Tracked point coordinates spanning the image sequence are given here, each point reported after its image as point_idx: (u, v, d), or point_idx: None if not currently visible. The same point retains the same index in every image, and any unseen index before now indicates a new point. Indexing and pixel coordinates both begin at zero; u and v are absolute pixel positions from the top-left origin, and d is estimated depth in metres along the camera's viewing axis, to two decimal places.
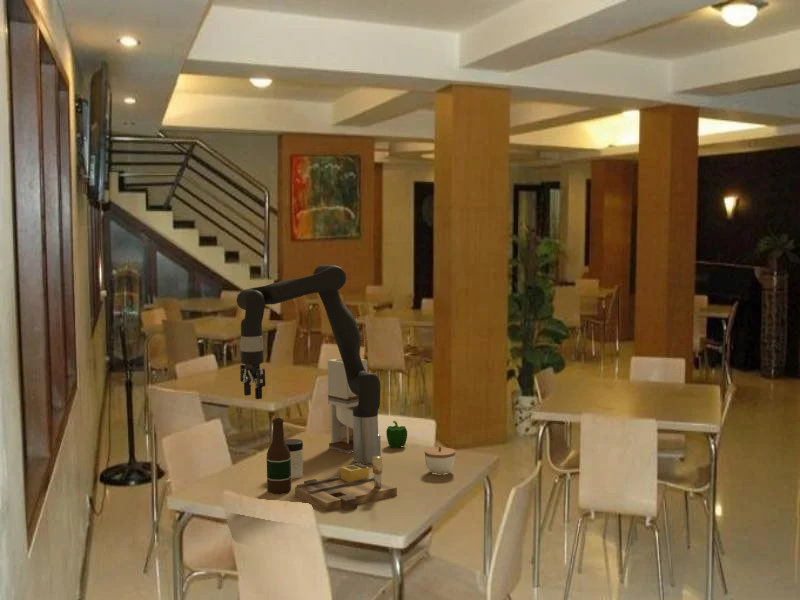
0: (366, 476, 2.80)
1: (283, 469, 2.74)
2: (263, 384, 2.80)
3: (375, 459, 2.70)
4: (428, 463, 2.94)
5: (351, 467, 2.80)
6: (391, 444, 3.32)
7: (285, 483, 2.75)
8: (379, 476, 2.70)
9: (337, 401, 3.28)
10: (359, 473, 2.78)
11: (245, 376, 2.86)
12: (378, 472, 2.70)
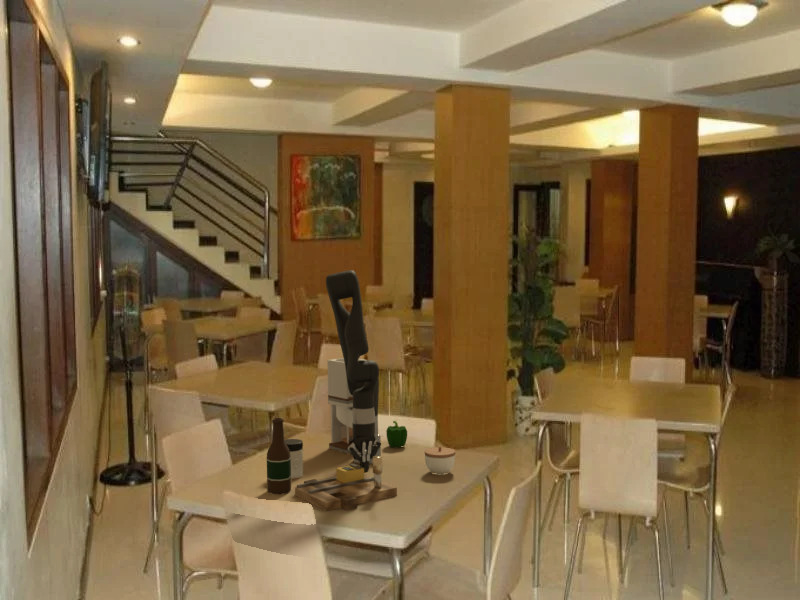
0: (361, 477, 2.79)
1: (283, 469, 2.74)
2: None
3: (375, 459, 2.70)
4: (428, 463, 2.94)
5: (346, 468, 2.79)
6: (391, 444, 3.32)
7: (285, 483, 2.75)
8: (379, 476, 2.70)
9: (337, 401, 3.28)
10: (354, 474, 2.77)
11: (365, 449, 2.80)
12: (378, 472, 2.70)
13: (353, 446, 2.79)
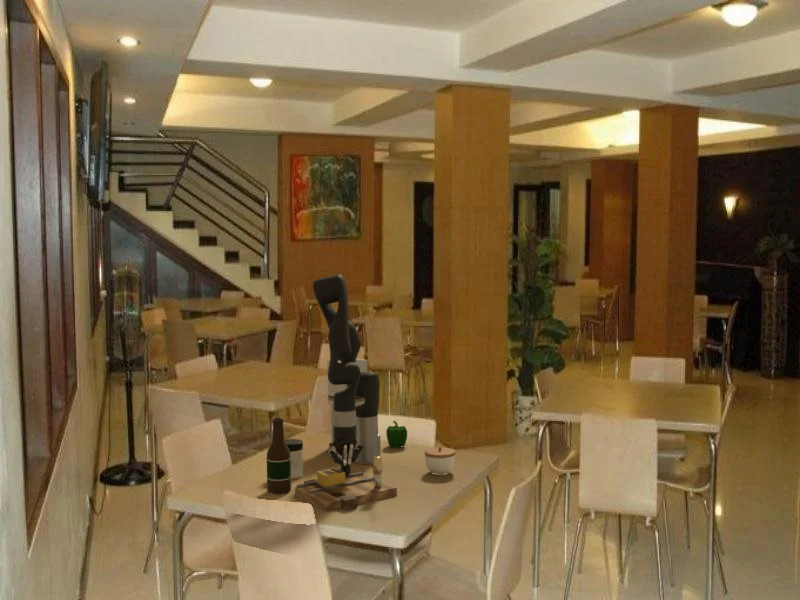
0: (342, 481, 2.74)
1: (283, 469, 2.74)
2: None
3: (375, 459, 2.70)
4: (428, 463, 2.94)
5: (327, 472, 2.74)
6: (391, 444, 3.32)
7: (285, 483, 2.75)
8: (379, 476, 2.70)
9: None
10: (335, 478, 2.73)
11: (346, 452, 2.76)
12: (378, 472, 2.70)
13: (334, 449, 2.75)
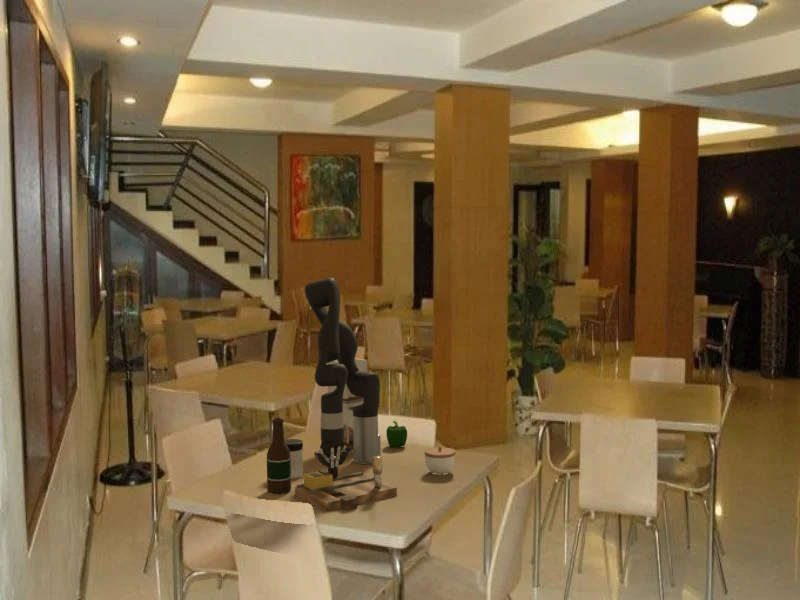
0: (330, 483, 2.72)
1: (283, 469, 2.74)
2: None
3: (375, 459, 2.70)
4: (428, 463, 2.94)
5: (314, 474, 2.72)
6: (391, 444, 3.32)
7: (285, 483, 2.75)
8: (379, 476, 2.70)
9: None
10: (322, 480, 2.70)
11: (334, 455, 2.73)
12: (378, 472, 2.70)
13: (321, 452, 2.72)
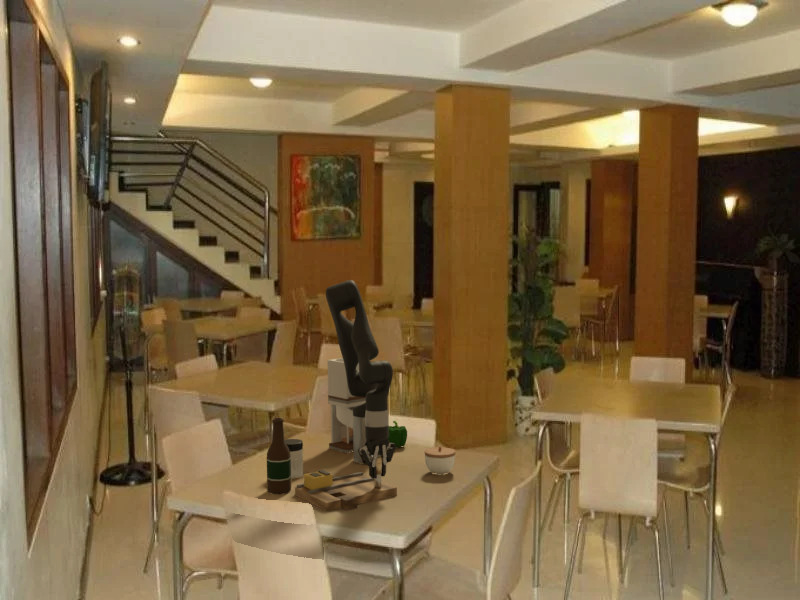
0: (330, 483, 2.72)
1: (283, 469, 2.74)
2: None
3: None
4: (428, 463, 2.94)
5: (314, 474, 2.72)
6: None
7: (285, 483, 2.75)
8: (379, 476, 2.70)
9: (337, 401, 3.28)
10: (322, 480, 2.70)
11: (377, 454, 2.69)
12: (378, 472, 2.70)
13: (365, 449, 2.68)
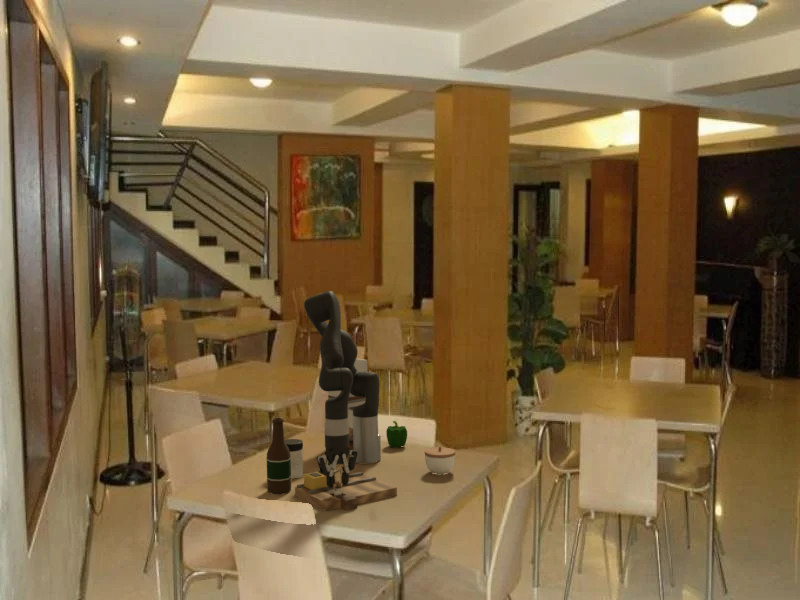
0: None
1: (283, 469, 2.74)
2: None
3: (334, 473, 2.63)
4: (428, 463, 2.94)
5: (314, 474, 2.72)
6: (391, 444, 3.32)
7: (285, 483, 2.75)
8: (339, 491, 2.64)
9: None
10: (322, 480, 2.70)
11: (336, 463, 2.62)
12: (337, 487, 2.63)
13: (324, 457, 2.61)
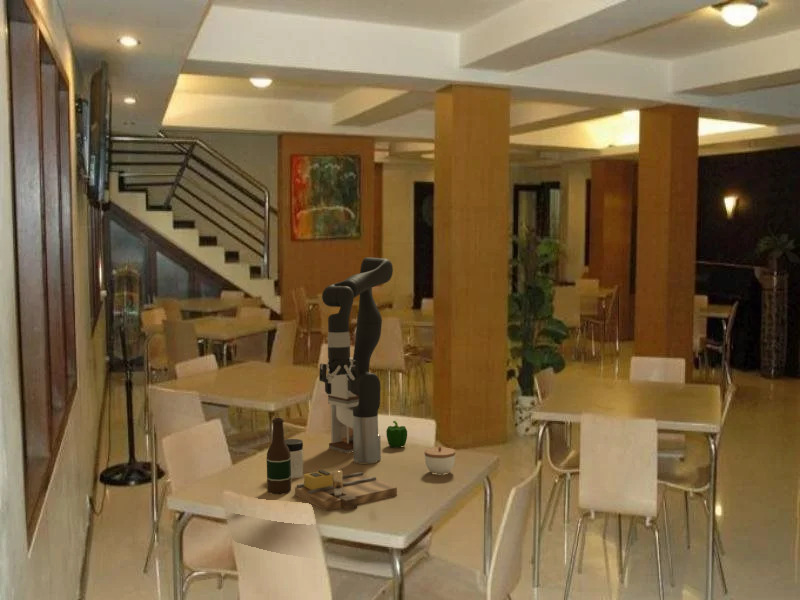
0: (330, 483, 2.72)
1: (283, 469, 2.74)
2: None
3: (335, 473, 2.63)
4: (428, 463, 2.94)
5: (314, 474, 2.72)
6: (391, 444, 3.32)
7: (285, 483, 2.75)
8: (339, 491, 2.64)
9: (337, 401, 3.28)
10: (322, 480, 2.70)
11: (336, 373, 2.85)
12: (338, 487, 2.63)
13: (327, 366, 2.84)
